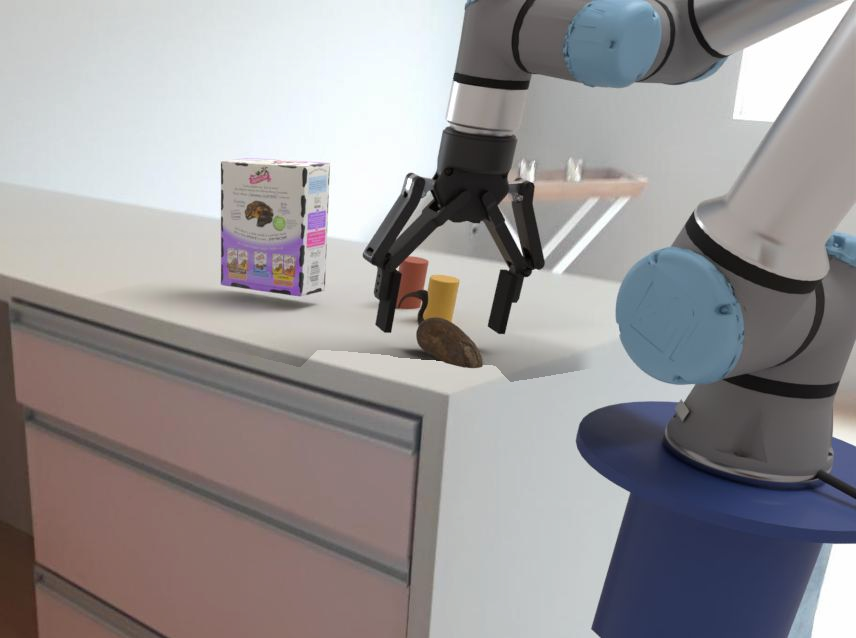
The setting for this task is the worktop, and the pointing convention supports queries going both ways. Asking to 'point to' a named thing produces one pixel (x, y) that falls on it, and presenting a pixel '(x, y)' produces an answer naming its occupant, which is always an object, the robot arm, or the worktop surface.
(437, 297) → the yellow cylinder
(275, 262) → the snack box
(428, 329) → the ibis bird sculpture
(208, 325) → the worktop surface
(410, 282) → the red cylinder
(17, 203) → the worktop surface
